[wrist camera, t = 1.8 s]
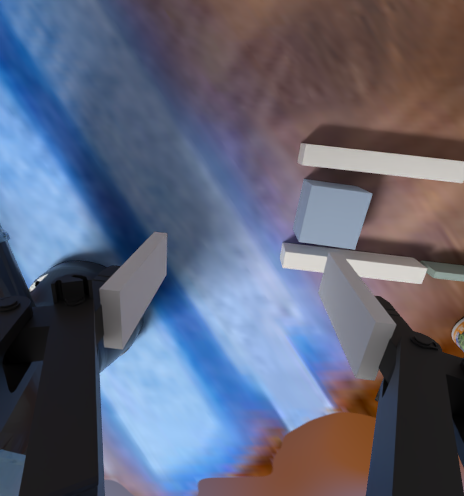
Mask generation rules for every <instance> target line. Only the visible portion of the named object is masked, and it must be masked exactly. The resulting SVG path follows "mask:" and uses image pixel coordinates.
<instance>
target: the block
mask: <svg viewBox="0 0 464 496" xmlns="http://www.w3.org/2000/svg"><path fill="white" fill-rule="evenodd" d="M371 197H372V193H370V192H368V191H366V190H364V189H362V188H360V187H358V186H353V185H345V184H338V183H331V182H324V181H317V180H310V179H304V181H303V185H302V190H301V194H300V199H299V203H298V208H297V212H296V217H295V222H294V226H293V231H294V233H295V235H296V237H297V239H298V241H299V242H303V243H310V244H318V245H325V246H332V247H339V248H346V249H353V250H355V248H356V245H357V242H358V238H359V235H360V232H361V229H362V226H363V223H364V219H365V216H366V213H367V210H368V207H369V204H370V201H371Z"/></svg>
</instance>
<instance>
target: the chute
mask: <svg viewBox="0 0 464 496" xmlns="http://www.w3.org/2000/svg"><path fill="white" fill-rule="evenodd" d="M298 163H299V164H301V165H306V166H315V167H323V168H332V169H341V170H350V171H359V172H368V173H377V174H385V175H394V176H403V177H412V178H421V179H430V180H439V181H447V182H456V183H463V181H464V161H456V160H448V159H440V158H431V157H422V156H413V155H404V154H395V153H386V152H377V151H368V150H359V149H350V148H341V147H332V146H323V145H314V144H305V143H301V145H300V151H299V156H298ZM329 252H331V253H340V254H342V255H343V256H344V257H345V259H346V260H347V261H348V262H349V264H350V265H351V266H352V268H353V269H354V270H355V272H356V273H357V274H358V275H359V277H365V278H374V279H382V280H391V281H399V282H408V283H416V284H422V281H423V279H424V276H425V274H426V272H427V269H428V268H426V267H425V266H424V265H422V264H421V263H420V262H418V261H417V260H416V259H414V258H412V257H403V256H395V255H386V254H377V253H369V252H360V251H352V250H343V249H335V248H326V247H317V246H309V245H300V244H292V243H282V249H281V254H280V260H281V264H282V268H289V269H297V270H306V271H314V272H324V269H325V265H326V261H327V257H328V253H329Z"/></svg>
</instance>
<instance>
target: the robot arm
mask: <svg viewBox="0 0 464 496" xmlns="http://www.w3.org/2000/svg"><path fill="white" fill-rule="evenodd" d="M9 239H10V237H9V235H8V233H7V232H5V231H3V229H2V227H1V225H0V496H105V490H104V466H103V443H102V421H101V398H100V375H99V373H100V372H102V371H103V370H104V369H105V368H106V367H108V366H109V365H110V364H111V363H112V362H114V361H115V360H116V359H117V358H118V357H119V356H121V355H122V354H124V353H125V352H126V351H127V350H128V349H129V348H130V347H131V346H132V344H133V343H134V341H135V339H136V337H137V336H138V334H139V332H140V330H141V327H142V323H143V314H144V312H145V311H146V309H147V307H148V306H149V304H150V302H151V300H152V299H153V297H154V295H155V294H156V292H157V290H158V288H159V287H160V285H161V283H162V282H163V280H164V278H165V276H166V275H167V233H161V232H154V233H153V234H152V235H151V236H150V237H149V238H148V239H147V240H146V241H145V242H144V243H143V244H142V245H141V246H140V247H139V248H138V249H137V250H136V251H135V252H134V253H133V254H132V255H131V257H130V258H129V259H128V260H127V261H126V262H125V263H124V264H123V265H122V266H113V265H112V266H110V267H108V268H107V267H104V266H102V265H99V264H96V263H92V262H87V261H69V262H64V263H61V264H58V265H56V266H54V267H53V268H51V269H49V270H48V271H47V272H45V273H44V274H42V275H41V276H40V277H38V278H37V279H36V280H35V281H34V283H33V284H32V285H31V287H30V288H29V290H28V287H27V285H26V283H25V280H24V278H23V276H22V274H21V271H20V269H19V267H18V264H17V262H16V260H15V258H14V255H13V253H12V251H11V248H10V246H9V244H8V241H7V240H9ZM318 293H319V295H320V298H321V300H322V302H323V305H324V307H325V309H326V311H327V314H328V316H329V318H330V321H331V323H332V325H333V328H334V330H335V332H336V334H337V337H338V339H339V341H340V344H341V346H342V348H343V350H344V353H345V355H346V357H347V360H348V362H349V364H350V366H351V369H352V371H353V373H354V376H355V378H359V379H367V380H375V378H376V375H377V373H378V370H379V369H380V371H381V373H382V375H383V376H384V379H383V381H382V384H381V386H380V389H379V391H378V393H377V396H376V398H375V400H376V401H378V400H379V402H378V409H377V417H376V424H375V432H374V439H373V447H372V454H371V462H370V469H369V476H368V484H367V492H366V496H464V492H463V486H462V479H461V472H460V466H459V459H458V455H459V457H460V460H461V462H462V465H463V467H464V358H460V357H456V356H453V355H450V354H447V353H444V352H442V349H441V347H440V345H439V344H438V343H436V342H435V341H434V340H433V339H431V338H430V337H428V336H426V335H423V334H421V333H418V332H414V331H413V330H412V329H411V328H410V327H409V326H408V324H407V323H406V322H405V321H404V320H403V318H402V317H400V315H399V314H398V312H397V311H395V309H394V308H393V306H392V305H391V304H390V303H389V302H388V301H386V300H385V299H383V298H382V297H380V296H374V295H373V294H372V292H371V291H370V290H369V288H368V287H367V286H366V284H365V283H364V282H363V281H362V279H361V278H360V277H359V275H358V274H357V273H356V272H355V270H354V269H353V268H352V266H351V265H350V264H349V262H348V261H347V260H346V259H345V257H344V256H343V255H342V254H340V253H331V252H329V253H328V257H327V261H326V265H325V269H324V272H323V276H322V280H321V284H320V288H319V292H318Z"/></svg>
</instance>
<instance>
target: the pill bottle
mask: <svg viewBox="0 0 464 496" xmlns="http://www.w3.org/2000/svg"><path fill="white" fill-rule="evenodd" d="M452 338H453V340H454V342H455V343H456V344H457V345H458V346H459V347H460V348H461V349H462V350H463V351H464V318H463V319H461V320H460V321H459V322H458V323H457V324H456V325H455V326H454V328H453V330H452Z"/></svg>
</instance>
